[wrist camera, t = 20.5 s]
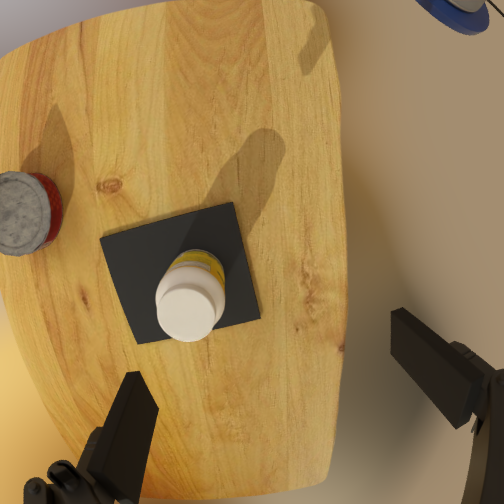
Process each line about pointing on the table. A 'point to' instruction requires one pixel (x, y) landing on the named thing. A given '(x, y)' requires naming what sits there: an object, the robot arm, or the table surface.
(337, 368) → the table surface
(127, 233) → the mat
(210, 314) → the pill bottle
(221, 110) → the table surface
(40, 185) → the canned food
